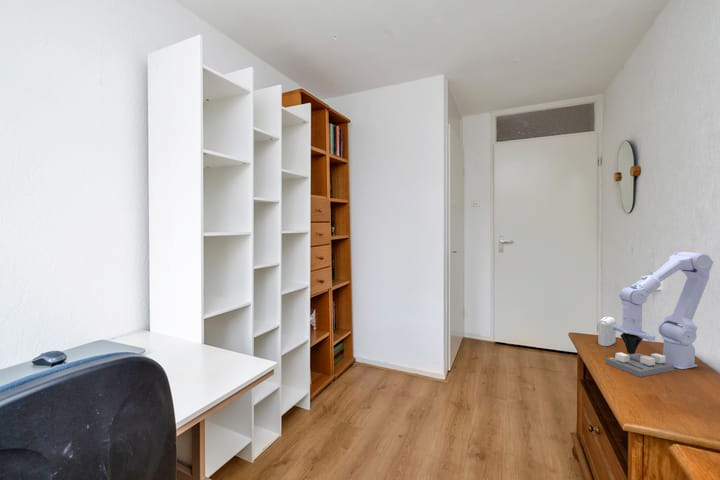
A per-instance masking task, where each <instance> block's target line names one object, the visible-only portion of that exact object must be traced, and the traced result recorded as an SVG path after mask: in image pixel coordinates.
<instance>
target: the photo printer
mask: <svg viewBox="0 0 720 480" xmlns="http://www.w3.org/2000/svg"><path fill="white" fill-rule="evenodd" d="M611 325H617V321H616V319H615V318H614V317H612V316H605V317H604V316H603V318H601V319H600V320H599V321H598V332H597V333H598V334H597V335H598V337H597V339H598V340H597V344H598V345H599V346H603V347H610V346H611V345H614V344H615V343H616V338H617V336H616V334H617V331H616V330H611Z"/></svg>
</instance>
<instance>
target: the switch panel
mask: <svg viewBox="0 0 720 480" xmlns="http://www.w3.org/2000/svg"><path fill="white" fill-rule="evenodd" d="M629 355H630V359H629V362H621V361H618V360H616V359H615V356H613V357H612V356H611V357H606V358H605V364H606V365H609V366H611V367H614V368H617V369H619V370H621V371H623V372H626V373H629V374H632V375H633V376H636V377H639V378H641V377H648V376H652V375H653V376H654V375H658V374H659V375H660V374H663V373H668V372H669V373H670V372H673V371H675V367H674V365H672V364H669V363H666V362H665V363H657V362H655V365H651V366H649V365H646V364H643V363H640V356H644V355H645V354H642V353H639V352H637V353H636V352H635V354H629Z"/></svg>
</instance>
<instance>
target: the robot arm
mask: <svg viewBox="0 0 720 480" xmlns="http://www.w3.org/2000/svg"><path fill="white" fill-rule="evenodd" d="M713 264H714V261H713V260H712V258H711V256H710V255H709V254H708V253H706V252H691V251H683V250H678V251H675V252H674V253H673V254H671V255H670V256H669V257H668V261H666V262H665V263H664V264H663V265H661V266H660V267H659V268H658V269H657V270H656V271H655V272H654V273H653V274H651V275H649V274H647V275H642V276H641V277H640V279H639V280H638V281H636V282H635V283H633V284H631V286H628V287H624V288H622V290H620V293H618V296H619V298H620V300H621V304H622V325H617V324H616V325H611V330H616V332H620V333H622V334H620V338H621V340H622V341H623V343H624V345H625V348H626V353H627V354H628V355H630V354H636V351H637V348H638V346H639V345H640V343H641V342H642V341H643V340H648V341H649V342H656V335H653V334H650V333H648V332H646V331H643V330H642V329H643V328H642V327H643V325H642V324H643V320H642V319H643V304H646V302H647V300H648V297H650V294H652V293H653V292H655V291H656V290H658V289H659V288H660V287H661V285H662V284H661V283H662V282H663V281H664V280H666V279H667V278H669V277H670V276H672V275H674V274H676V273H677V272H678V271H681V273H684V275H685V276H686V281H685V283H684V285H683V287H682V290H681V293H680V295H679V298H678V300H677V303H676V305H675V306H674V307H675V308H674V310H673V313H672V314H671V315H669V316H668V315H667V316H666V317H665V318H664V320H663V321H662V322H661V323H659V325H658V333H659V334H660V336H662V337H661V339H662V340H663V347H662V349H663V351H662V355H663V356H666V358H665V362H666V363H669V364H672V365H674V369H675V368H676V369H679V370H686V369H690V368H696V367H697V368H698V365H697V364H695V357H696V349H695V346H694V345H693V344H694V343H695V342H696V340H697V330H698V327H697V325H696V324H695V323H694V322H693V319H694V316H695V313H696V312H697V309H698V306H699V304H700V302H701V298H702V297H703V294H704V292H705V290H706V287H707V285H708V282H709V279H710V271H711V269H712V267H713Z"/></svg>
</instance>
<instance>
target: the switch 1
mask: <svg viewBox="0 0 720 480" xmlns="http://www.w3.org/2000/svg"><path fill="white" fill-rule="evenodd" d="M614 357H615V359H616V360H618V361H621V362H629V359H630V354H628V353H627V354H626V353H624V352H616V353H615V355H614Z"/></svg>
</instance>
